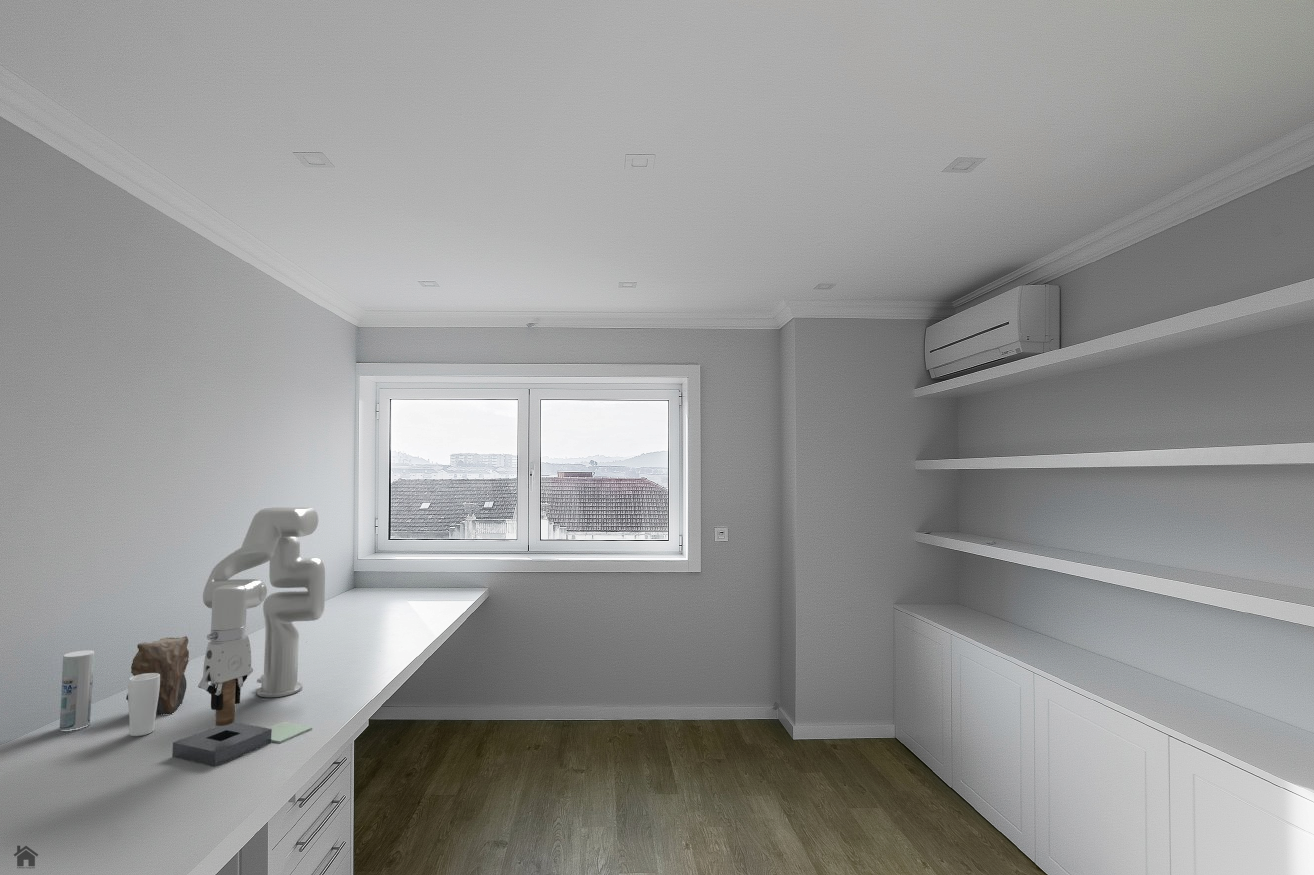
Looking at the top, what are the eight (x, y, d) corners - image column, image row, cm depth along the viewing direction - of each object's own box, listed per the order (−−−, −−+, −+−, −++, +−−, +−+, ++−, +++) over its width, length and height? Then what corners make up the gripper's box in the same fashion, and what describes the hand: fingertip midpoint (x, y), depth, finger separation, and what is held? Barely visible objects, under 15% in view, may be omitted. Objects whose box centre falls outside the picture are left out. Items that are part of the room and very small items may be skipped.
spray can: (53, 729, 177) (57, 655, 178) (81, 721, 183) (85, 649, 184) (67, 733, 175) (72, 657, 176) (95, 725, 181) (100, 651, 182)
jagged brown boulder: (123, 717, 187) (127, 646, 188) (149, 701, 199) (153, 635, 200) (172, 715, 189) (175, 645, 190) (195, 699, 201) (198, 634, 202)
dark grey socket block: (172, 757, 161) (172, 742, 162) (230, 734, 175) (230, 721, 176) (215, 766, 156) (215, 751, 156) (271, 742, 170) (271, 729, 170)
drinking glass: (122, 740, 171) (125, 681, 172) (129, 730, 177) (132, 674, 178) (154, 735, 174) (157, 678, 175) (160, 726, 180) (162, 671, 181)
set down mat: (249, 737, 174) (249, 735, 174) (282, 723, 183) (282, 721, 183) (279, 743, 170) (279, 741, 170) (312, 729, 179) (312, 727, 179)
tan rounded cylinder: (223, 726, 164) (224, 678, 164) (211, 724, 165) (213, 676, 166) (238, 721, 168) (239, 673, 168) (226, 718, 169) (228, 671, 170)
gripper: (206, 644, 158) (203, 720, 158) (268, 628, 174) (265, 697, 173) (185, 640, 161) (181, 716, 160) (248, 625, 177) (245, 693, 176)
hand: (225, 705), depth 167 cm, fingers closed on tan rounded cylinder, 4 cm apart
